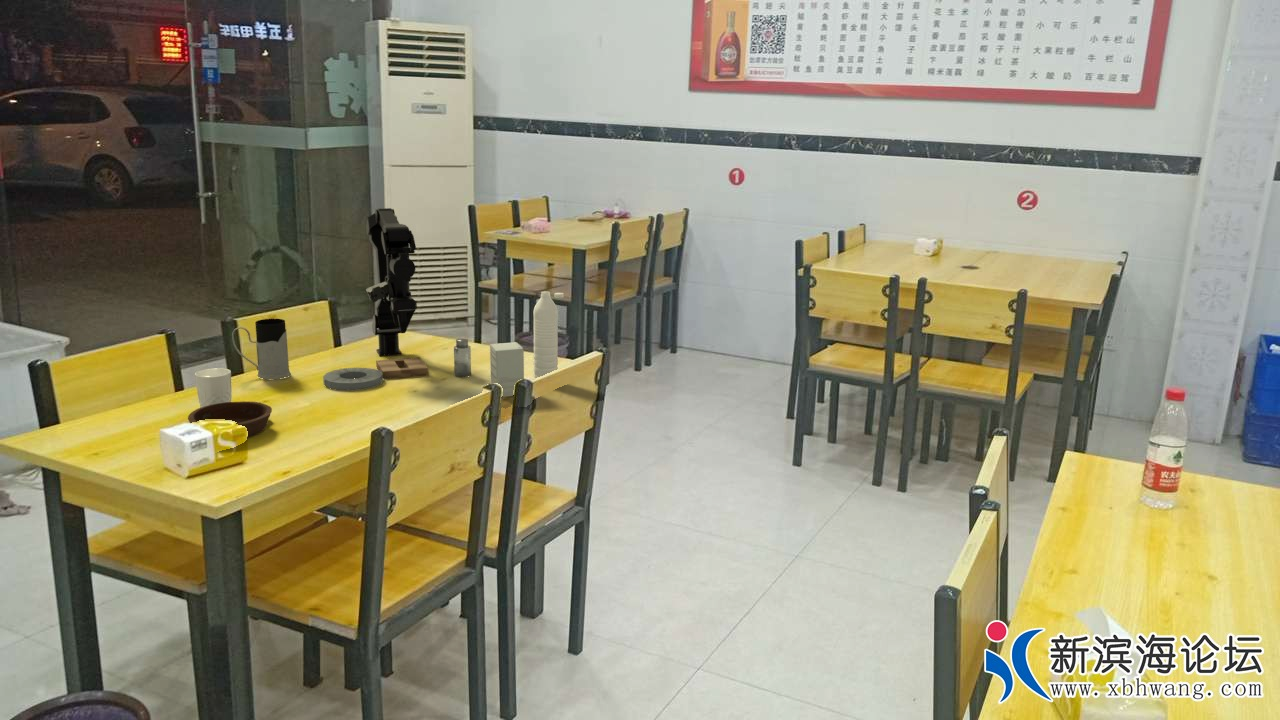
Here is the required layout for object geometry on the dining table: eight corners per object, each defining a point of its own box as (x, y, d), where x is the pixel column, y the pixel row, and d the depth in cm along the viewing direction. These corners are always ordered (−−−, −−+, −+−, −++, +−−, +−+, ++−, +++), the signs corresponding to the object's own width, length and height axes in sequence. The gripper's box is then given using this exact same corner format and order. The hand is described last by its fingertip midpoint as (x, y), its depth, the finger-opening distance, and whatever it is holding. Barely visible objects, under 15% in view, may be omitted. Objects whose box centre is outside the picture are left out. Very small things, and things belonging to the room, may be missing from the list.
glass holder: (289, 379, 273) (286, 324, 269) (233, 381, 269) (228, 326, 265) (292, 370, 281) (288, 317, 277) (237, 373, 277) (233, 319, 274)
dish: (164, 442, 224) (162, 421, 223) (234, 414, 244) (233, 394, 243) (228, 453, 218) (227, 431, 217) (295, 423, 238) (294, 403, 237)
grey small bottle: (452, 373, 282) (452, 338, 279) (468, 372, 283) (468, 337, 281) (456, 378, 278) (455, 342, 275) (472, 376, 279) (472, 341, 277)
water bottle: (528, 383, 274) (528, 292, 268) (542, 378, 279) (542, 288, 273) (555, 388, 270) (555, 295, 263) (569, 383, 275) (569, 292, 269)
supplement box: (517, 387, 270) (517, 341, 267) (524, 395, 263) (524, 348, 260) (490, 390, 267) (489, 343, 264) (496, 398, 261) (495, 350, 257)
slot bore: (376, 367, 286) (376, 360, 285) (419, 364, 290) (419, 357, 290) (383, 378, 275) (383, 371, 275) (427, 375, 280) (427, 368, 279)
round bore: (321, 377, 275) (320, 370, 274) (377, 372, 281) (377, 365, 280) (327, 392, 262) (326, 385, 261) (386, 387, 267) (386, 380, 267)
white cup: (217, 419, 239) (214, 378, 237) (191, 415, 242) (187, 374, 239) (241, 410, 246) (238, 370, 244) (215, 406, 249) (211, 366, 246)
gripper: (362, 268, 281) (365, 323, 285) (373, 280, 264) (375, 339, 268) (403, 266, 285) (405, 321, 289) (416, 278, 268) (418, 336, 273)
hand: (400, 329), depth 280 cm, fingers open, 9 cm apart
